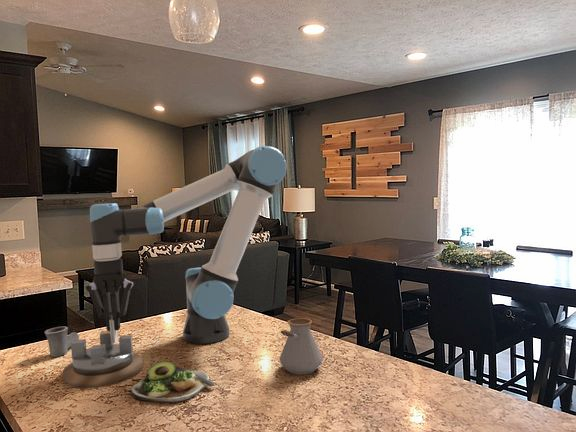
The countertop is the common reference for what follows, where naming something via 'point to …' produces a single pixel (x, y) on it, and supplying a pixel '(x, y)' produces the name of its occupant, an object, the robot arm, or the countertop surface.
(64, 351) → the pipe
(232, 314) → the countertop surface
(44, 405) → the countertop surface
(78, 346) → the four-tab metal disc
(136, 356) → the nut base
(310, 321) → the coffee pot
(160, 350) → the countertop surface
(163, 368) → the salad plate
